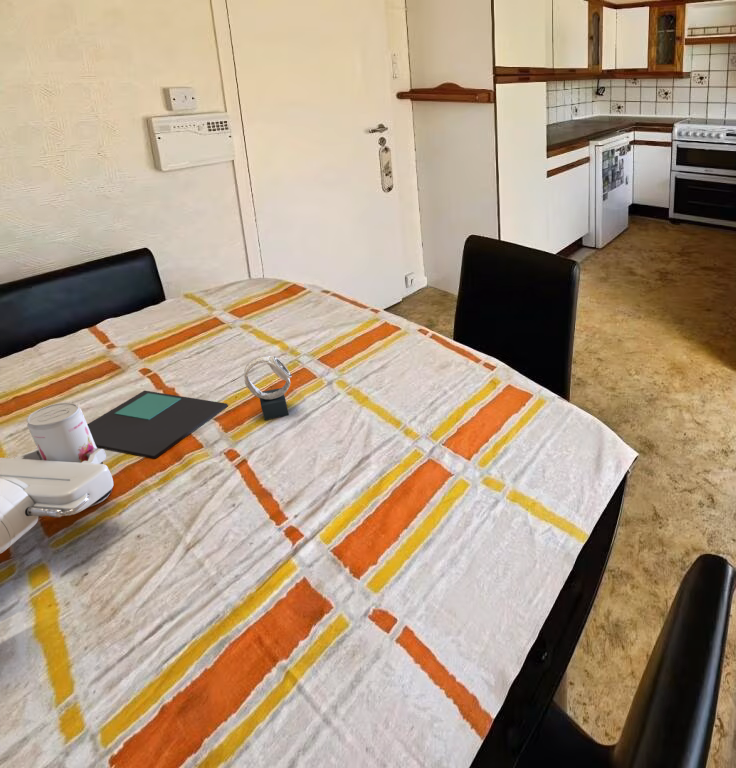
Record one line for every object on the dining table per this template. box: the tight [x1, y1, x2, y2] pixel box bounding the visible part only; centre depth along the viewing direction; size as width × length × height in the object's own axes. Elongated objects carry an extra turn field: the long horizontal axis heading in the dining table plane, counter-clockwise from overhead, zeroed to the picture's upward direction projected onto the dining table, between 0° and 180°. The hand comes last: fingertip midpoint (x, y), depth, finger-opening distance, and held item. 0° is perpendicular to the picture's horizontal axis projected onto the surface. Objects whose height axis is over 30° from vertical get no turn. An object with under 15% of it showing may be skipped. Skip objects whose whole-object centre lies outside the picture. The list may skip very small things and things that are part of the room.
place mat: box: [87, 390, 229, 460], centre depth 114 cm, size 20×18×1 cm
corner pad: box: [115, 393, 181, 420], centre depth 118 cm, size 8×8×1 cm
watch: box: [243, 355, 292, 421], centre depth 115 cm, size 6×8×11 cm
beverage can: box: [26, 401, 113, 509], centre depth 92 cm, size 6×6×15 cm
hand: (74, 450), depth 92 cm, fingers open, 7 cm apart
